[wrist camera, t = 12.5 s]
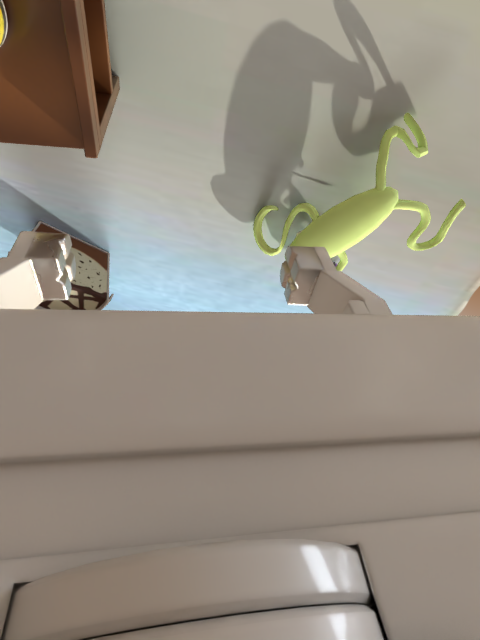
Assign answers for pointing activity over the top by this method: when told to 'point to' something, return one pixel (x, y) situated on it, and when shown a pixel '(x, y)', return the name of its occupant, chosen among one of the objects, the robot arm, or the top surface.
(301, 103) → the top surface
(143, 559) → the robot arm
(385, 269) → the top surface
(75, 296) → the food container
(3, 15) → the supplement bottle
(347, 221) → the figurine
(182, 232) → the top surface
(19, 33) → the stand
